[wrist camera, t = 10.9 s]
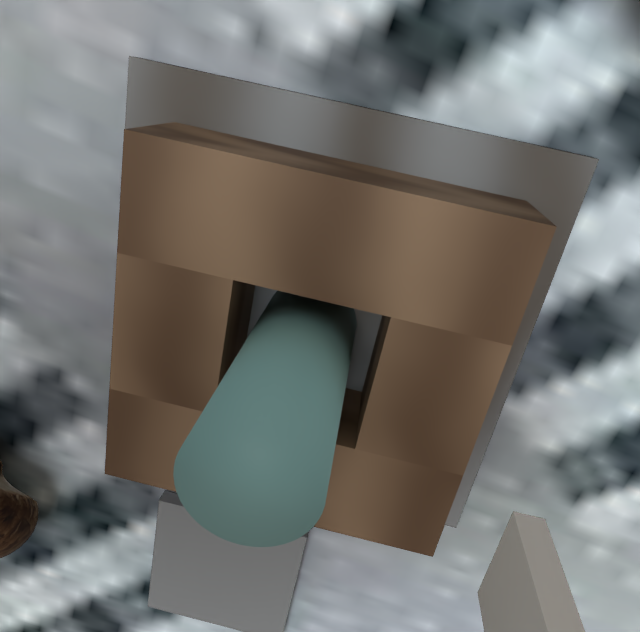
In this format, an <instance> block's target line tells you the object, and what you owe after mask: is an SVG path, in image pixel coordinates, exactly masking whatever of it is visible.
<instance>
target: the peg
mask: <svg viewBox="0 0 640 632" xmlns="http://www.w3.org/2000/svg"><path fill="white" fill-rule="evenodd" d="M356 325H357V321H356V314H355V310H354V308H350V307H345V306H341V305H337V304H333V303H328V302H324V301H320V300H316V299H311V298H307V297H303V296H299V295H294V294H290V293H286V292H282V291H277V292H276V293H275V294H274V295H273V297H272V298H271V300H270V302H269V303H268V305H267V307H266V308H265V310H264V311H263V313H262V315H261V316H260V318H259V320H258V321H257V323H256V325H255V326H254V328H253V330H252V331H251V333H250V334H249V336H248V338H247V339H246V341H245V343H244V344H243V346H242V348H241V349H240V351H239V353H238V354H237V356H236V357H235V359H234V361H233V362H232V364H231V366H230V367H229V369H228V371H227V372H226V374H225V376H224V377H223V379H222V380H221V382H220V384H219V385H218V387H217V389H216V390H215V392H214V394H213V395H212V397H211V399H210V400H209V402H208V403H207V405H206V407H205V408H204V410H203V412H202V413H201V415H200V417H199V418H198V420H197V421H196V423H195V425H194V426H193V428H192V430H191V431H190V433H189V435H188V436H187V438H186V440H185V441H184V443H183V444H182V446H181V448H180V450H179V451H178V454H177V456H176V459H175V463H174V472H173V477H174V485H175V488H176V492H177V494H178V497H179V499H180V501H181V503H182V504H183V506H184V508H185V509H186V510H187V512H188V513H189V514H190V516H191V517H192V518H193V519H194V520H195V521H196V522H197V523H199V524H200V525H201V526H202V527H203V528H205V529H206V530H208V531H209V532H211V533H212V534H214V535H216V536H218V537H220V538H222V539H224V540H227V541H229V542H232V543H236V544H239V545H244V546H251V547H272V546H278V545H283V544H286V543H289V542H292V541H294V540H296V539H298V538H300V537H301V536H303V535H304V534H306V533H307V532H308V531H309V530H310V529H312V528H313V527H314V525H315V524H316V523H317V521H318V520H319V518H320V517H321V515H322V513H323V510H324V507H325V503H326V497H327V491H328V486H329V480H330V474H331V469H332V463H333V457H334V452H335V446H336V440H337V435H338V429H339V423H340V417H341V412H342V406H343V400H344V395H345V389H346V383H347V378H348V372H349V366H350V361H351V355H352V349H353V344H354V338H355V332H356Z"/></svg>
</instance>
